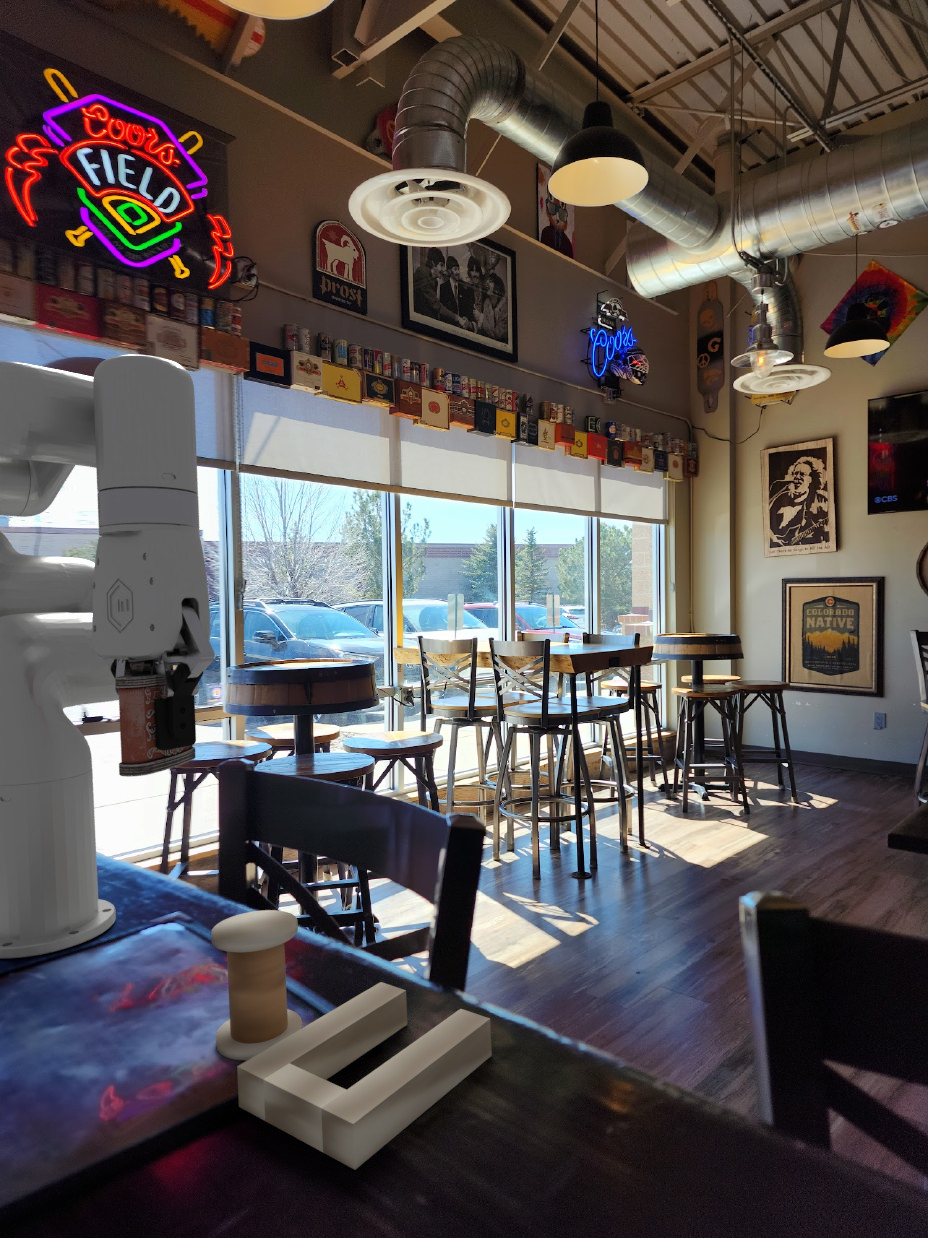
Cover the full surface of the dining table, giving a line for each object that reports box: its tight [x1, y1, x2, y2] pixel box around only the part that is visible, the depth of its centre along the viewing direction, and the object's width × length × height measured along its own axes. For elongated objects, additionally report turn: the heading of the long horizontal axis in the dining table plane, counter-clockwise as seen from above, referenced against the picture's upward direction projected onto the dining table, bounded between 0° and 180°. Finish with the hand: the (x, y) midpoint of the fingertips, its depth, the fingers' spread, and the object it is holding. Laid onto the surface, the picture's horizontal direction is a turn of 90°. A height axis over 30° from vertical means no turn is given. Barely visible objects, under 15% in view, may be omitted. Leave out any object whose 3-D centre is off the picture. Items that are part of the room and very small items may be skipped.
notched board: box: [236, 981, 493, 1171], centre depth 51 cm, size 10×13×2 cm
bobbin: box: [210, 909, 303, 1061], centre depth 57 cm, size 6×6×8 cm
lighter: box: [115, 650, 196, 777], centre depth 63 cm, size 8×3×10 cm, turn 168°
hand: (158, 742), depth 63 cm, fingers closed on lighter, 4 cm apart
